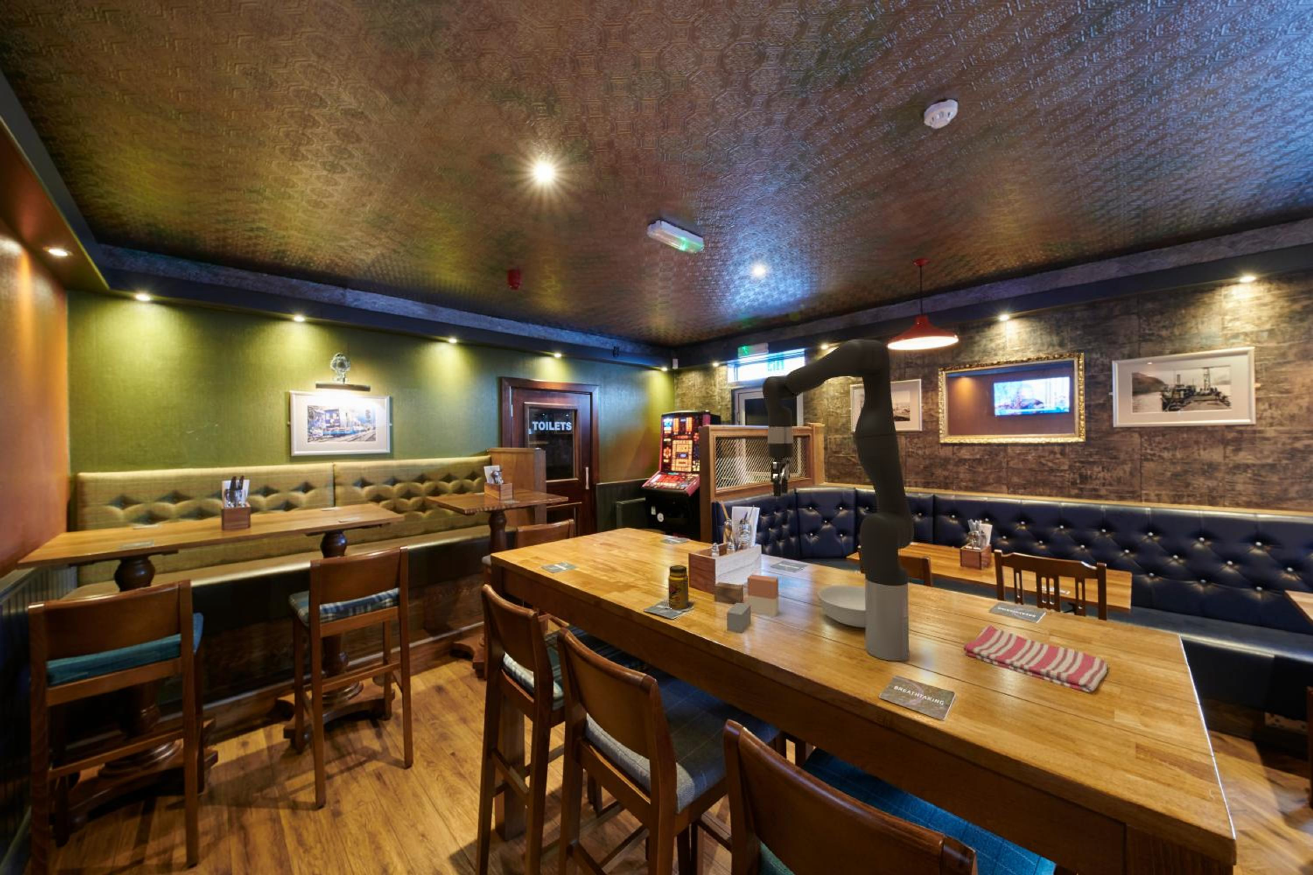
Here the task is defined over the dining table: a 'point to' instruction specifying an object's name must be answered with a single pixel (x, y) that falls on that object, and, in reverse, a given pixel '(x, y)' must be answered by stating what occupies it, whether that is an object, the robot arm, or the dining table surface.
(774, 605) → the cream brick
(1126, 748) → the dining table surface
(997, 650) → the dish towel
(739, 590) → the walnut brick
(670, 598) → the condiment
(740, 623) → the slate brick
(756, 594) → the terracotta brick
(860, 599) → the serving bowl
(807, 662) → the dining table surface
